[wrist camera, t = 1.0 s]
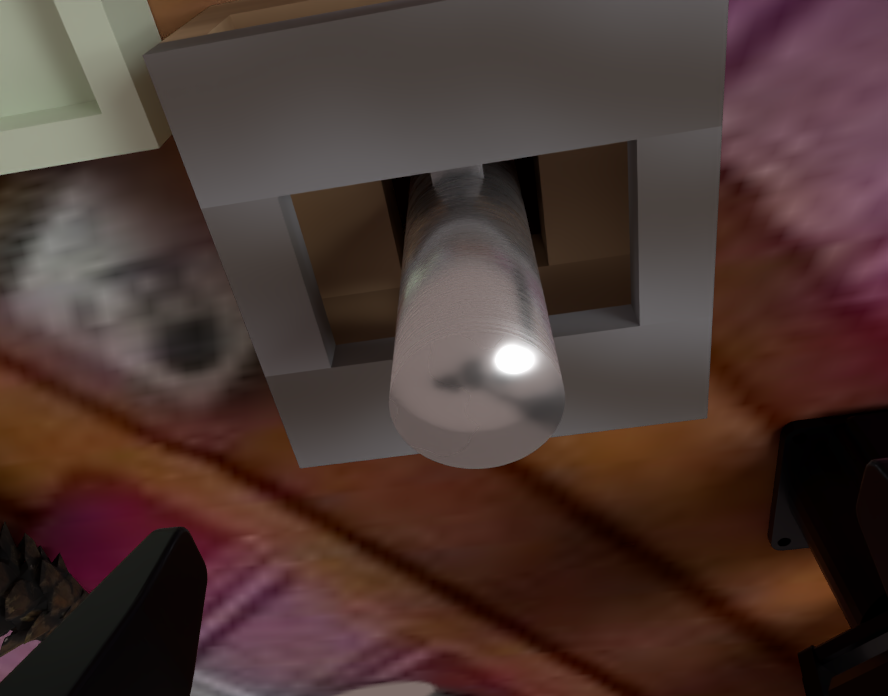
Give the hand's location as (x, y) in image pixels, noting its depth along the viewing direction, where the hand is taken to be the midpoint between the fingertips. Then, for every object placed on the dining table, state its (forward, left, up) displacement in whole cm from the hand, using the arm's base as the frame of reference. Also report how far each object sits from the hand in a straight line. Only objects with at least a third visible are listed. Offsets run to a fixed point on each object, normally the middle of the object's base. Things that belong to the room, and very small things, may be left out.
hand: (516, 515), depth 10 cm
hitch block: (0, +1, -13) cm, 13 cm away
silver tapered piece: (0, +1, -13) cm, 13 cm away
